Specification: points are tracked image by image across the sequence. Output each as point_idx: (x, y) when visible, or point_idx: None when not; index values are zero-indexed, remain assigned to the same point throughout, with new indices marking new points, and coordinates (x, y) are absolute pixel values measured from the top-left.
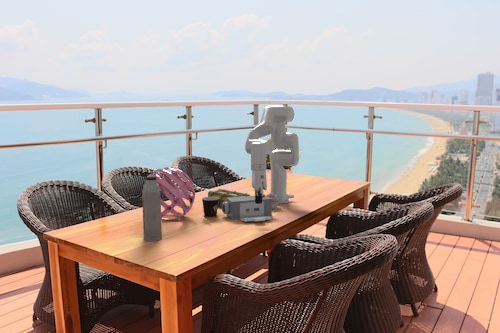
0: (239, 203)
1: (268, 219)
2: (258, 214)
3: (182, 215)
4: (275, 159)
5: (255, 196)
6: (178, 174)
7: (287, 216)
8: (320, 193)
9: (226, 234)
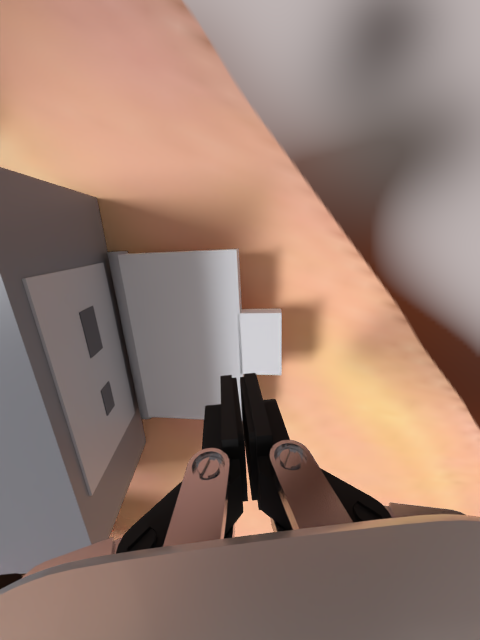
0: (92, 495)
1: (239, 270)
2: (106, 304)
3: None
4: None
5: (242, 497)
6: None
7: (78, 43)
8: None
9: (356, 488)
